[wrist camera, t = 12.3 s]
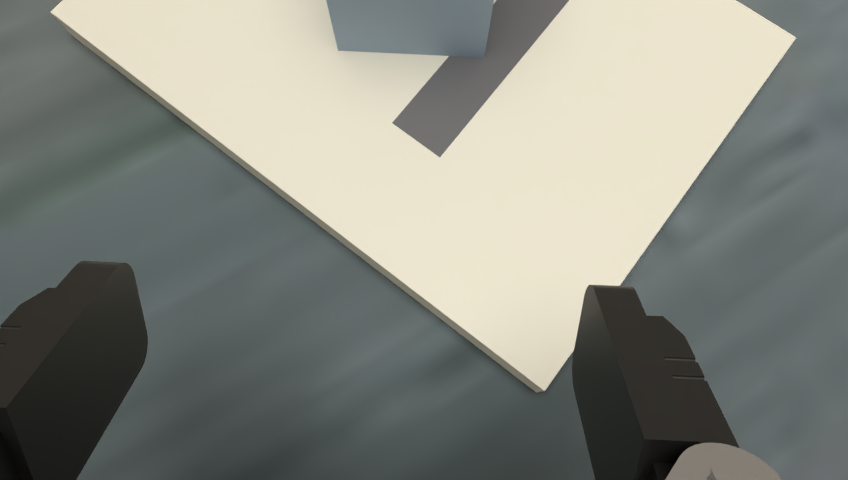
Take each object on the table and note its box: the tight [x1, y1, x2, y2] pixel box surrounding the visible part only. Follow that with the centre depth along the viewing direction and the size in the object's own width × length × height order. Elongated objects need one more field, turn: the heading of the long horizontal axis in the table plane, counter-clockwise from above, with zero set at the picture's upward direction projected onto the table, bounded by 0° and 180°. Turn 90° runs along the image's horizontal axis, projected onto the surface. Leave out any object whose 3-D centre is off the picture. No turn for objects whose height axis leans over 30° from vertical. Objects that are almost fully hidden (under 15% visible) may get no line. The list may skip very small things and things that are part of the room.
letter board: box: [51, 0, 796, 393], centre depth 24 cm, size 21×15×2 cm
